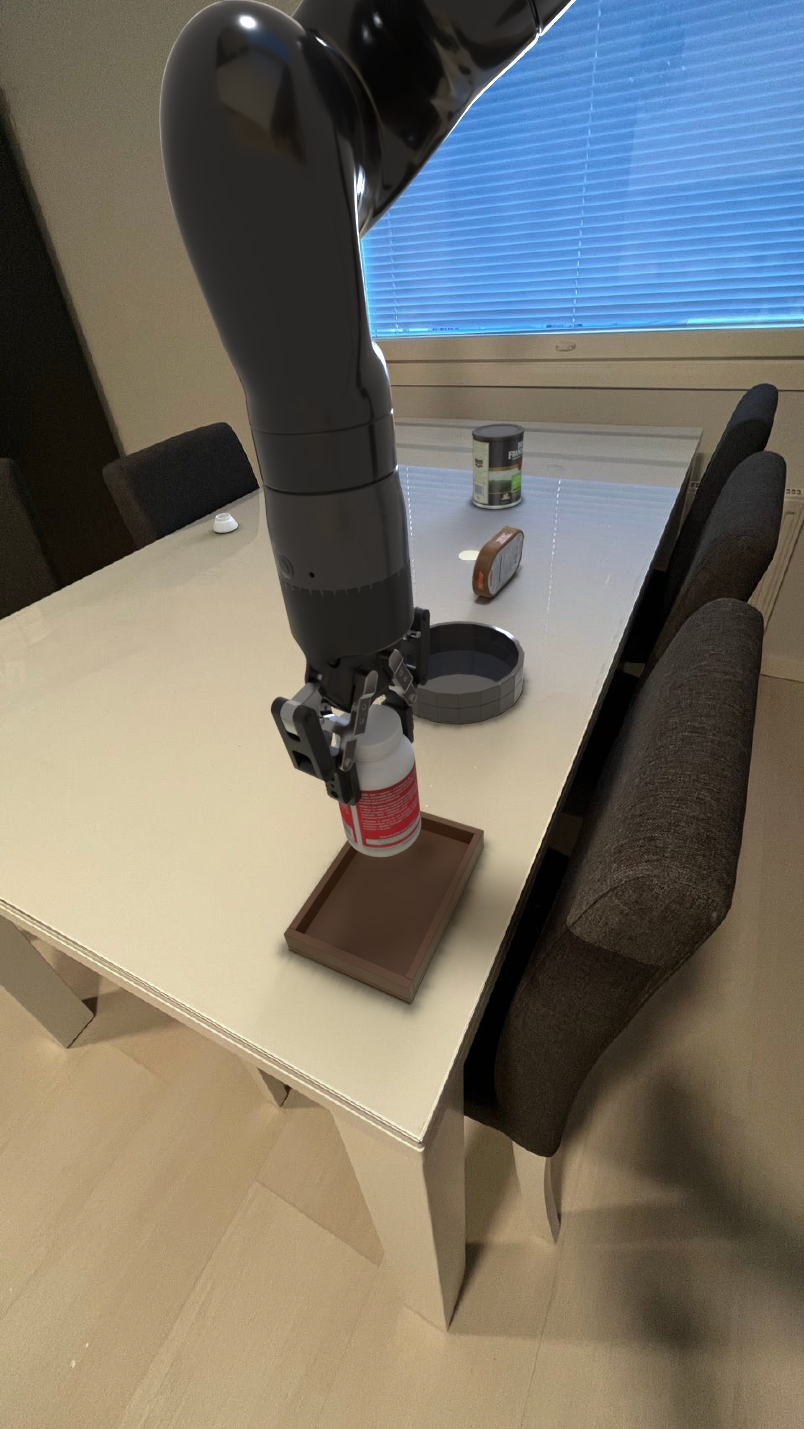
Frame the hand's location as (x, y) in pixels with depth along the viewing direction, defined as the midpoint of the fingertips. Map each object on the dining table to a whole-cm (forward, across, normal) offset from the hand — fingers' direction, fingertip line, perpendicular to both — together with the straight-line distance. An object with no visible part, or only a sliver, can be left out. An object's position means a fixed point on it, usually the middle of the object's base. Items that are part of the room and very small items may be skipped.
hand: (374, 768), depth 44 cm
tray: (+16, 0, 0) cm, 16 cm away
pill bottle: (+7, 0, 0) cm, 7 cm away
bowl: (+16, +31, +10) cm, 36 cm away
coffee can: (+16, +92, +35) cm, 100 cm away
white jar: (+16, +57, +81) cm, 100 cm away
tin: (+16, +58, +18) cm, 62 cm away
